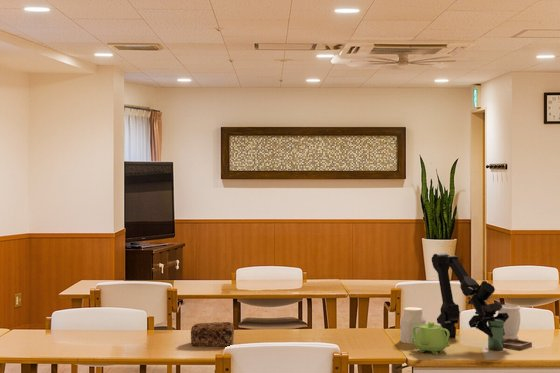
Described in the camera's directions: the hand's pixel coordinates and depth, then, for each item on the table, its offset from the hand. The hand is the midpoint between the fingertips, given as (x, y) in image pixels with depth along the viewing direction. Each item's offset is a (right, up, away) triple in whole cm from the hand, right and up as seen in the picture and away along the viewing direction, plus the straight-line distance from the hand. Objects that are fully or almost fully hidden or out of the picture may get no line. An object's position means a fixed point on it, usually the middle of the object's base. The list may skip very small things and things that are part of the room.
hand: (498, 335), depth 350 cm
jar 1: (-33, -6, +21) cm, 40 cm away
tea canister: (-1, -6, +1) cm, 6 cm away
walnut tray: (+9, -7, +8) cm, 14 cm away
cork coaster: (-1, -7, +1) cm, 7 cm away
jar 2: (+13, -6, +28) cm, 32 cm away
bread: (-125, -7, +13) cm, 126 cm away
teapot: (-30, -7, -1) cm, 30 cm away
